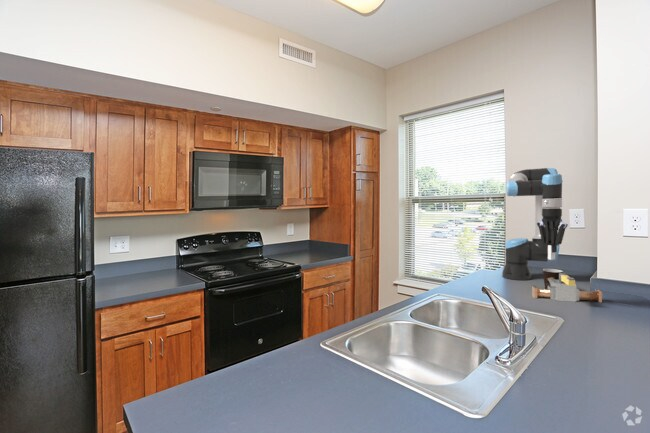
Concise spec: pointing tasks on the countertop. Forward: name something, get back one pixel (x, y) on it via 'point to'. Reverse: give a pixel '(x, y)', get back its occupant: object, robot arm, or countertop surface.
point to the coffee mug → (551, 276)
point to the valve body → (566, 292)
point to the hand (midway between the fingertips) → (551, 259)
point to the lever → (566, 279)
